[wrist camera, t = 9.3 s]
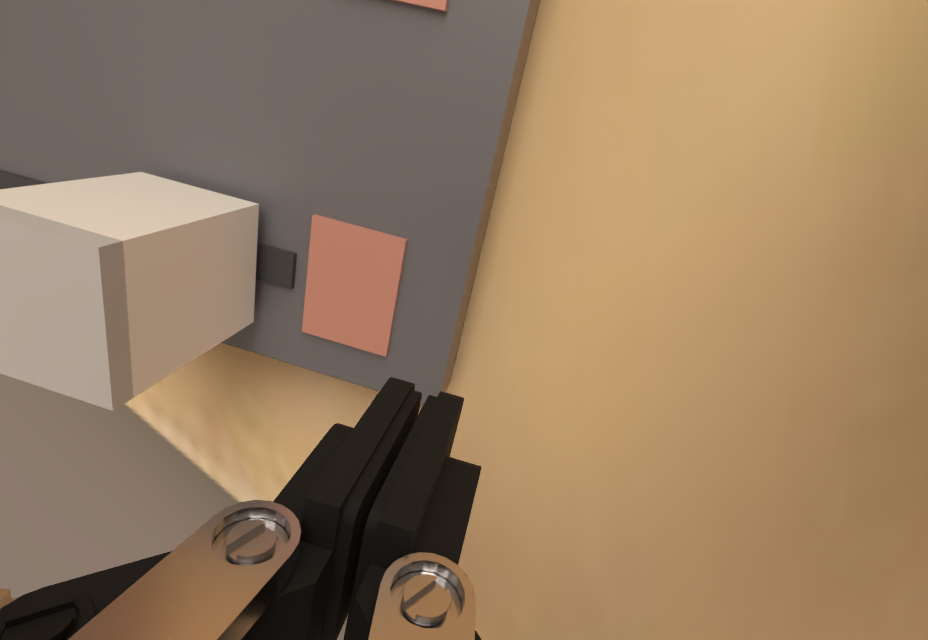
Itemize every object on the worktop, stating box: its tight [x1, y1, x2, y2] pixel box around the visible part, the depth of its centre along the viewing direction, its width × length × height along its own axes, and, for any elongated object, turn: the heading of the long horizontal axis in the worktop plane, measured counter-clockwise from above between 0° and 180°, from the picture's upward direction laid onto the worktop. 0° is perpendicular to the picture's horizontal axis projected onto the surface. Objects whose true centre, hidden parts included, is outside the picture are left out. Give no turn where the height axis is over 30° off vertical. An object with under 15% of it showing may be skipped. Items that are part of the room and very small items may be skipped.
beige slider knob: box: [0, 172, 259, 411], centre depth 14 cm, size 4×4×6 cm
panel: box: [0, 0, 540, 405], centre depth 16 cm, size 30×17×2 cm, turn 77°
